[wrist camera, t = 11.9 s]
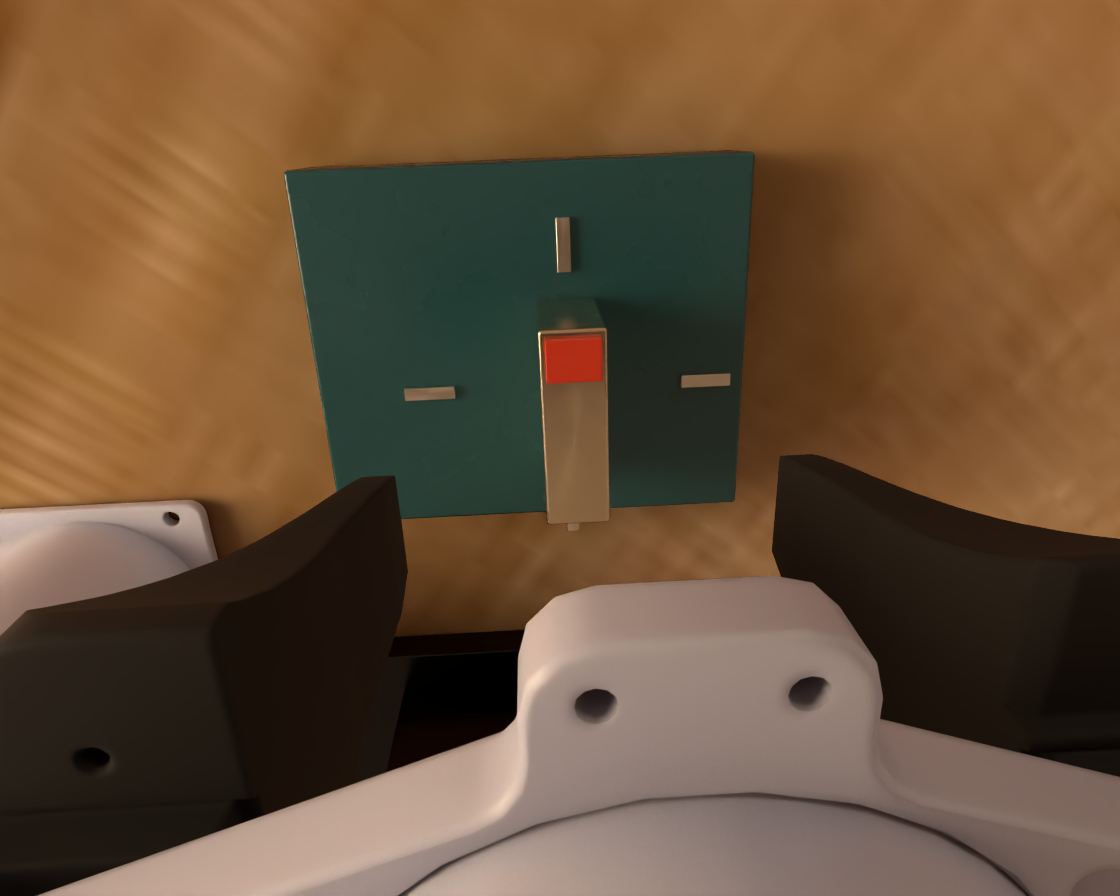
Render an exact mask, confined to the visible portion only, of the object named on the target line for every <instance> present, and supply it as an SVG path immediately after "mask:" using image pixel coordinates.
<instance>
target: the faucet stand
mask: <svg viewBox="0 0 1120 896" xmlns="http://www.w3.org/2000/svg"><path fill="white" fill-rule="evenodd" d="M524 632H525V630H512V631H494V632H476V633H459V634H441V635H423V636H405V637H394V639H393V643H392V646H391V649H390V652H389V655H388V658H387V662H386V665H385V668H384V671H383V674H382V677H381V680H380V684H379V687H378V690H377V693H376V696H375V699H374V702H373V706H372V709H371V713H370V717H369V721H368V724H367V728H366V734H365V739H364V744H363V749H362V755H361V760H360V765H359V771H358V776H357V782H360V781H363V780H366V779H369V778H372V777H374V776H377V775H380V774H383V773H386V772H389V771H391V770H394V769H397V768H400V767H403V766H406V765H408V764H411V763H414V762H417V761H420V760H423V759H426V758H428V757H431V756H434V755H437V754H440V753H443V752H445V751H448V750H451V749H454V748H457V747H460V746H462V745H465V744H468V743H471V742H474V741H477V740H479V739H482V738H485V737H488V736H491V735H494V734H496V733H499V732H502V731H504V730H505V729H506V728H507V727H508V726H509V725H510V724H511V723H512V722H513V721H514V720H515V718H516V716H517V693H518V655H519V651H520V647H521V643H522V640H523V636H524ZM357 782H356V783H357Z"/></svg>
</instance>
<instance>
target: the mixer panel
mask: <svg viewBox="0 0 1120 896" xmlns="http://www.w3.org/2000/svg"><path fill="white" fill-rule="evenodd" d="M754 160H755V155H754V152H750V151H733V150H723V151H698V152H674V153H649V154H625V155H600V156H576V157H551V158H527V159H502V160H478V161H453V162H429V163H404V164H380V165H355V166H331V167H310V168H302V169H295V170H287V171H285V172H284V179H285V185H286V191H287V197H288V203H289V209H290V215H291V221H292V227H293V233H294V239H295V245H296V251H297V257H298V263H299V269H300V275H301V281H302V287H303V293H304V299H305V305H306V311H307V317H308V323H309V329H310V335H311V341H312V347H313V353H314V359H315V365H316V371H317V377H318V383H319V389H320V395H321V401H322V407H323V413H324V419H325V425H326V431H327V437H328V443H329V449H330V455H331V461H332V467H333V473H334V479H335V485H336V491H339V490H340V489H342V488H343V487H345V486H346V485H348V484H350V483H351V482H353V481H355V480H357V479H359V478H361V477H371V476H391V475H395V478H396V486H397V493H398V501H399V508H400V516H401V519H410V518H430V517H449V516H468V515H487V514H506V513H526V512H545V511H546V496H545V477H544V458H543V438H542V418H541V398H540V378H539V358H538V339H537V319H536V301H538V300H547V299H568V298H590V297H591V298H594V300H595V302H596V305H597V307H598V309H599V312H600V314H601V316H602V319H603V321H604V324H605V326H606V328H607V331H608V403H609V474H610V508H622V507H641V506H660V505H679V504H698V503H718V502H733V501H734V500H735V491H736V473H737V456H738V439H739V421H740V404H741V386H742V369H743V352H744V334H745V317H746V299H747V282H748V265H749V247H750V230H751V213H752V195H753V178H754ZM567 531H579V523H571V524H567Z"/></svg>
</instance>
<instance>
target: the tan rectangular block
mask: <svg viewBox="0 0 1120 896" xmlns="http://www.w3.org/2000/svg"><path fill="white" fill-rule="evenodd" d="M536 319H537V339H538V358H539V378H540V398H541V418H542V438H543V458H544V477H545V496H546V514H547V522H548V524H551V525H552V524H571V523H589V522H607V521H609V519H610V474H609V403H608V331H607V328H606V326H605V324H604V321H603V319H602V316H601V314H600V312H599V309H598V307H597V305H596V302H595V300H594V298H591V297H590V298H568V299H547V300H538V301H536Z"/></svg>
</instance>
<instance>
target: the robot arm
mask: <svg viewBox="0 0 1120 896" xmlns="http://www.w3.org/2000/svg"><path fill="white" fill-rule="evenodd" d="M168 512H174V513H175V514H177V515H178V516H179V518H180V520H179V521H178V520H174V519H172V518H171V517H170V516H169V514H168ZM772 553H773V555H774V558H775V561H776V564H777V566H778V569H779V572H780V575H781V577H779V576H757V577H738V578H720V579H702V580H683V581H665V582H647V583H628V584H610V585H595V586H591V587H588V588H584V589H581V590H577V591H574V592H570V593H567V594H563V595H560V596H556V597H554V598H553V599H552V600H551V601H550V602H549V603H548V604H547V605H546V606H545V607H544V608H542V609H541V610H540V611H539V612H538V613H537V614H536V615H535V616H534V617H533V618H532V619H531V620H530V621H529V622H528V623H527V624H526V628H525V632H524V636H523V640H522V643H521V647H520V651H519V655H518V693H517V716H516V718H515V720H514V721H513V722H512V723H511V724H510V725H509V726H508V727H507V728H506V729H505V730H504V731H502V732H499V733H496V734H494V735H491V736H488V737H485V738H482V739H479V740H477V741H474V742H471V743H468V744H465V745H462V746H460V747H457V748H454V749H451V750H448V751H445V752H443V753H440V754H437V755H434V756H431V757H428V758H426V759H423V760H420V761H417V762H414V763H411V764H408V765H406V766H403V767H400V768H397V769H394V770H391V771H389V772H386V773H383V774H380V775H377V776H374V777H372V778H369V779H366V780H363V781H360V782H357V776H358V771H359V765H360V760H361V755H362V749H363V744H364V739H365V734H366V728H367V724H368V721H369V717H370V713H371V709H372V706H373V702H374V699H375V696H376V693H377V690H378V687H379V684H380V680H381V677H382V674H383V671H384V668H385V665H386V662H387V658H388V655H389V652H390V649H391V646H392V643H393V639H394V636H395V633H396V630H397V626H398V623H399V620H400V616H401V613H402V607H403V600H404V594H405V587H406V580H407V573H408V569H407V561H406V554H405V546H404V539H403V531H402V523H401V516H400V508H399V501H398V493H397V486H396V478H395V475H391V476H371V477H361V478H359V479H357V480H355V481H353V482H351V483H350V484H348V485H346V486H345V487H343V488H342V489H340V490H339V491H337V492H336V493H334V494H333V495H331V496H330V497H328V498H327V499H325V500H324V501H322V502H321V503H319V504H318V505H316V506H315V507H313V508H312V509H310V510H309V511H307V512H306V513H304V514H303V515H301V516H299V517H298V518H296V519H294V520H293V521H291V522H289V523H288V524H286V525H284V526H283V527H281V528H279V529H278V530H276V531H274V532H273V533H271V534H269V535H267V536H266V537H264V538H262V539H260V540H258V541H256V542H254V543H252V544H250V545H248V546H246V547H244V548H242V549H240V550H238V551H236V552H233V553H231V554H229V555H227V556H225V557H222V558H220V559H218V557H217V553H216V549H215V545H214V541H213V537H212V533H211V529H210V525H209V520H208V516H207V512H206V510H205V508H204V507H203V506H202V505H201V504H200V503H198V502H196V501H194V500H172V501H153V502H133V503H114V504H94V505H75V506H55V507H36V508H16V509H0V896H1120V539H1116V538H1108V537H1099V536H1090V535H1083V534H1076V533H1070V532H1063V531H1057V530H1052V529H1046V528H1041V527H1036V526H1031V525H1025V524H1020V523H1016V522H1011V521H1007V520H1002V519H998V518H994V517H990V516H987V515H983V514H979V513H976V512H972V511H968V510H965V509H961V508H958V507H955V506H951V505H948V504H945V503H942V502H939V501H937V500H934V499H931V498H928V497H925V496H922V495H920V494H917V493H914V492H911V491H909V490H906V489H904V488H901V487H898V486H896V485H893V484H891V483H888V482H886V481H883V480H881V479H879V478H876V477H874V476H871V475H869V474H866V473H864V472H862V471H859V470H857V469H854V468H852V467H849V466H847V465H845V464H842V463H839V462H837V461H834V460H831V459H828V458H826V457H822V456H818V455H814V454H805V455H786V456H780V458H779V471H778V483H777V496H776V508H775V520H774V533H773V545H772ZM356 782H357V783H356Z"/></svg>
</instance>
